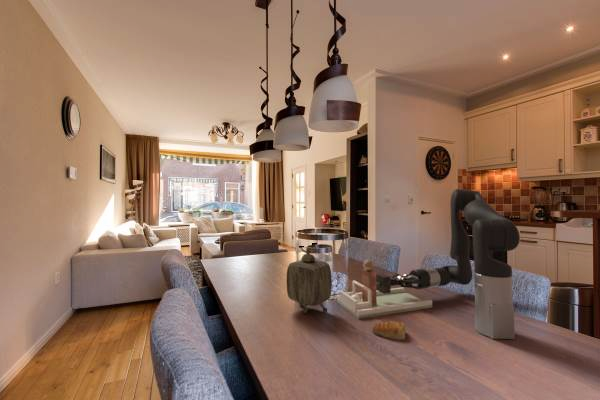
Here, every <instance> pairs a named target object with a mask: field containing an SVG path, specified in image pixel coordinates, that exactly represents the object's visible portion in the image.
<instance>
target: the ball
mask: <svg viewBox="0 0 600 400" xmlns="http://www.w3.org/2000/svg"><path fill="white" fill-rule="evenodd" d="M351 297H352V298H354V299H355V300H357V301H358V303H361V299H360V297H359V296H358V295H356V294H354V295H352V296H351Z"/></svg>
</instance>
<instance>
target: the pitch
mask: <svg viewBox="0 0 600 400" xmlns="http://www.w3.org/2000/svg"><path fill="white" fill-rule="evenodd" d="M356 295H358V296H359V297H360V299H361V302H363V301H362V292H361V291H360V292H356ZM376 299H377V305H372V308H367V309H360V310H357V313H354V312H353V311H352V310H350V309H349V308H348V307H346V306H345V305H344V304H343V303H341V302H340V295H339V294H337V295H336V302H337V303H338V304H339V305H341V307H343V308H344V309H345V310H347V311H348V312H350V313H351V314H352V315H353V316H354V317H355V318H357V319H358V320H359V319H366V318H373V317H380V316H387V315H393V314H398V313H399V314H400V313H405V312H407V313H408V312H413V311H419V310H425V309H426V310H427V309H432V308H433V300H432V299H425V300H423V299H420V298H419V297H416V296H415V295H412V294H410V293H408V292H406V291H405V287H401V286H400V287H396V288H395V287H394V288H391V293H385V294H383V293H381V292H379V291H378V290H376Z"/></svg>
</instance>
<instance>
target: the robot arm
mask: <svg viewBox="0 0 600 400" xmlns="http://www.w3.org/2000/svg"><path fill="white" fill-rule="evenodd" d="M449 203H450V228H451V230H450V231H451V240H450V251H449V256H450V258H451V259H453V260H455V262H456V265H453V264H452V265H445V266H444V265H443V266H441V267H434V268H433V267H431V268H417V269H412V270H411V271H410V272H409V274H407V273H405V274H402V275H401V274H399V273H397V272H396V273H395V274H393V275H392V276H391V277H392V278H390V279H391V287H393V286H394V287H395V286H397V287H400V288H401V287H403V288H408V289H415V290H423V289H424V290H425V289H431V288H436V287H437V288H438V287H442V286H446V285H449V284H450V283H453V284H457V285H458V284H459V285H463V286H466V285H469V284H470V283H471V281H473V269H472V264H471V260H470V253H471V252H470V251H471V239H470V236H469V234H468V232H467V230H466V228H465V227H464V224H463V223H462V221H461V218H460V212H463V217H464V219H465V221H466V222H467V223H468V224H469V226H471V228H472V244H473V264H474V267H473V268H474V328H475V331H476V332H478V334H479V333H480V334H481V335H484V336H486V337H489V338H491V339H492V340H515V335H516V334H515V333H516V332H515V329H516V327H515V326H516V325H515V305H514V304H513V270H512V269H513V268H512V266H511V265H510V264H508V263H506V262H503V261H500V260H498V259H494V258H493V257H491V256H490V255H489V253H488V252H492V251H493V252H510V251H513V250H515V249H516V248H517V247H518V246H519V244H520V239H521V238H520V232H519V230H518V227H517V225H516V224H515V223H514V222H513V221H512V220H511V219H508V218H507V217H506V216H503V215H502V214H500V213H499V212H497V211H496V210H495V209H494V208H493V207H492V206H491V205H490V204H489V203H487V202H486V201H485V199H484V198H483V196H482V194H481V193H480V192H479V191H477V190H472V189H471V190H470V189H469V190H468V189H461V188H456V189H454V190H453V191H452V194H451V196H450V202H449Z"/></svg>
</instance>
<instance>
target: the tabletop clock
mask: <svg viewBox="0 0 600 400" xmlns="http://www.w3.org/2000/svg"><path fill="white" fill-rule="evenodd" d="M313 247H314V250H311V251H310V249H309V248H307V249H306V250H305V249H303V247H300V250H301V251H302V252H303V253H304V254H303V255H302V257H301V259H300V260H297V261H294V262H293V261H292V262H290V263H289V264H288V266H287V269H286V293H287V297H288V299H290V300H291V301H294V302H296V303H299V305H300V306H301V307H303V306H304V308H303V309H302V313H303V314H307V313H308V309H307V306H313V307H315V306H318V305H319V306H321V308H322V312H323V313H327V312H328V308H327V307H325V306H324V305H323V303H325V302H326V301H329V300H330V299H331V296H332V290H333V289H332V285H333V278H332V270H331V266H330V264H329V263H328V262H327V261H324V260H319V259H316V257H315V256H314V254H313V253H315V252H316V250H317V248H316V247H317V245H316V244H313Z"/></svg>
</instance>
